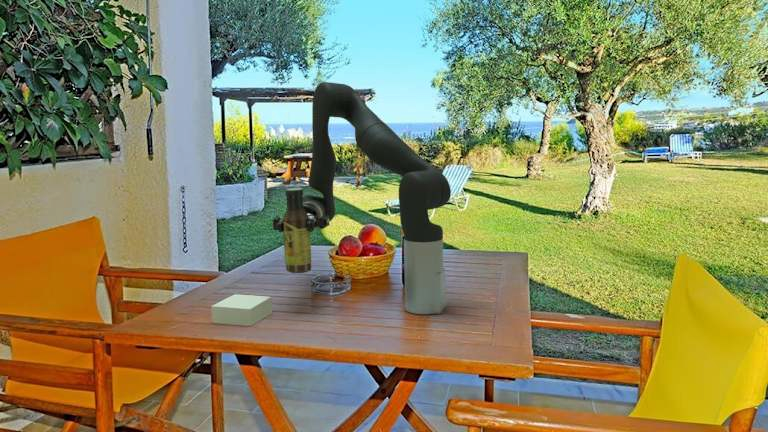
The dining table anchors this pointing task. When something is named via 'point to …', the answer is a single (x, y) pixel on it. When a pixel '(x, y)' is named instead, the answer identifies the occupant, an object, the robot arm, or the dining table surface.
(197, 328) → the dining table surface
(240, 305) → the plinth
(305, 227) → the sauce bottle
